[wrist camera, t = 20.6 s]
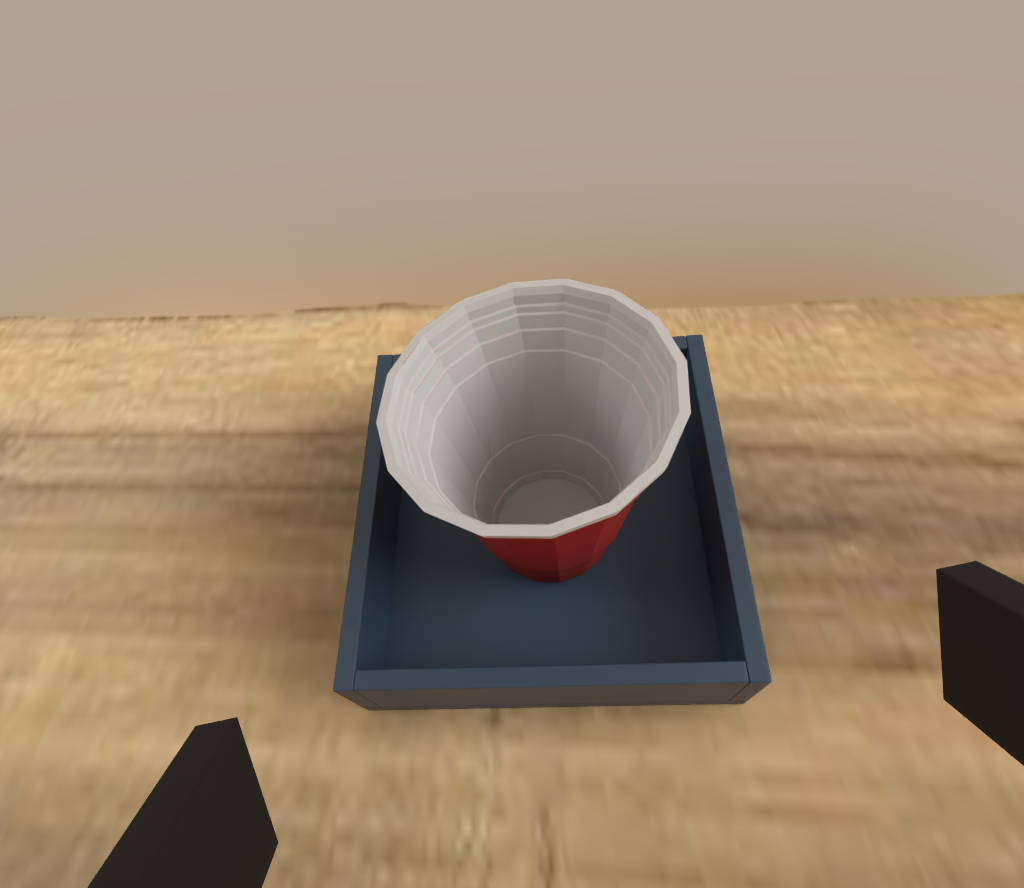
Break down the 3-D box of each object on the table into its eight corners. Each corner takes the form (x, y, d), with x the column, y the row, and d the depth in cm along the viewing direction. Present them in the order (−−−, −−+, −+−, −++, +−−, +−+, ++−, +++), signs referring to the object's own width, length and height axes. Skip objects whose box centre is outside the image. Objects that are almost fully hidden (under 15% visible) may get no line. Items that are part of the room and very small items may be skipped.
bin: (368, 710, 29) (332, 691, 25) (400, 406, 37) (377, 355, 33) (744, 703, 28) (772, 682, 23) (688, 390, 36) (702, 334, 32)
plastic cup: (476, 418, 36) (431, 252, 25) (673, 455, 33) (712, 289, 23) (407, 605, 30) (317, 493, 20) (635, 665, 28) (662, 572, 18)
